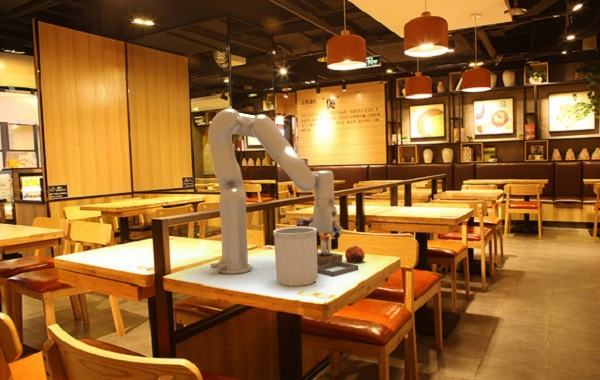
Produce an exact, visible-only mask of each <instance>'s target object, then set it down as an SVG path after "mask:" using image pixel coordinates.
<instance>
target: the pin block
mask: <svg viewBox="0 0 600 380" xmlns="http://www.w3.org/2000/svg"><path fill="white" fill-rule="evenodd" d="M337 261H339V262H343V254H339V253H333V252H330V256H328V257H323V256H321V252H318V254H317V266H321V265H325V264H329V263H333V262H337Z"/></svg>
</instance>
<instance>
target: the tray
mask: <svg viewBox="0 0 600 380" xmlns="http://www.w3.org/2000/svg"><path fill="white" fill-rule="evenodd" d="M336 267H341V269H336V270H333V271H332V270H327V269H332V268H336ZM354 271H355V272H356V271H359V264H358V265H357V264H354V263H353V264H352V263H350V262H343V261H342V262H339V261H337V262H333V263H329V264H325V265H321V266H319V265H317V274H320V275H325V276H328V277H331V278H332V277H336V276H341V275H344V274H347V273H351V272H354Z"/></svg>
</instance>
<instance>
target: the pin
mask: <svg viewBox="0 0 600 380" xmlns="http://www.w3.org/2000/svg"><path fill="white" fill-rule="evenodd" d="M330 237H331V235H330V236H329V235H320V253H321V256H323V257H328V256H330V253H331V238H330Z"/></svg>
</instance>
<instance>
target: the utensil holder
mask: <svg viewBox="0 0 600 380" xmlns="http://www.w3.org/2000/svg"><path fill="white" fill-rule="evenodd" d="M316 234H317V229H316V228H314V227H305V226H297V225H296V226H285V227H281V228H275V229H274V230H273V231H272V235H273V239H274V254H275V256H274V258H275V259H274V260H275V269H276V270H275V271H276V281H277V283H278V284H279V285H282V286H287V287H303V286H309V285H311V284H314V283H316V282H317V279H318V273H317V266H318V265H317V238H316Z"/></svg>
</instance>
